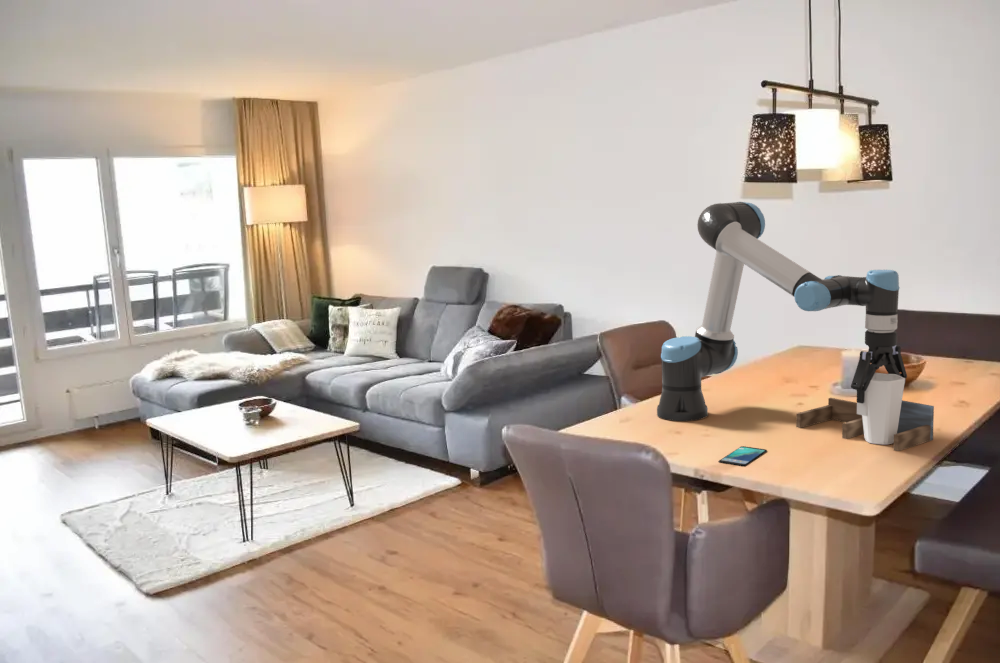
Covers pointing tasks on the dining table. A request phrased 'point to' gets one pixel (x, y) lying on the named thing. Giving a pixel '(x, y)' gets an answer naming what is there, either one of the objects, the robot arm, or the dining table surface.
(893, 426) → the cup
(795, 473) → the dining table surface
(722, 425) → the dining table surface
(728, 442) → the dining table surface
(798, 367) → the dining table surface
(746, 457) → the smartphone
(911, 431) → the wooden divider rack
